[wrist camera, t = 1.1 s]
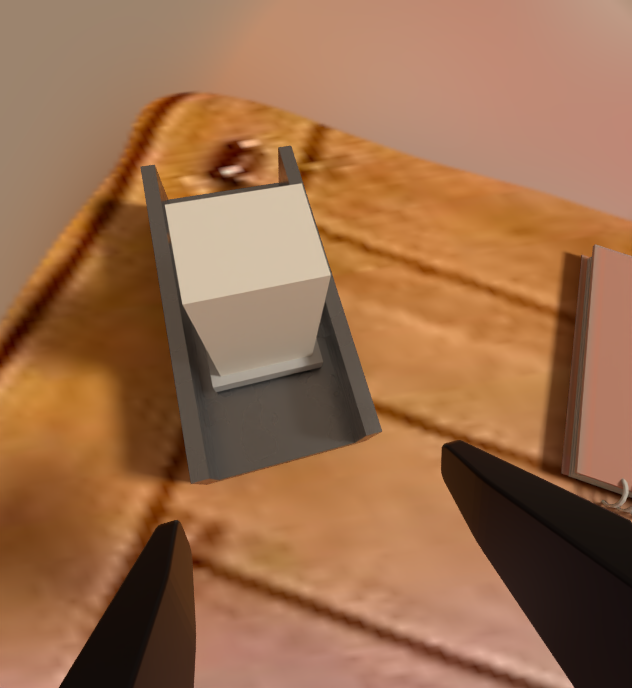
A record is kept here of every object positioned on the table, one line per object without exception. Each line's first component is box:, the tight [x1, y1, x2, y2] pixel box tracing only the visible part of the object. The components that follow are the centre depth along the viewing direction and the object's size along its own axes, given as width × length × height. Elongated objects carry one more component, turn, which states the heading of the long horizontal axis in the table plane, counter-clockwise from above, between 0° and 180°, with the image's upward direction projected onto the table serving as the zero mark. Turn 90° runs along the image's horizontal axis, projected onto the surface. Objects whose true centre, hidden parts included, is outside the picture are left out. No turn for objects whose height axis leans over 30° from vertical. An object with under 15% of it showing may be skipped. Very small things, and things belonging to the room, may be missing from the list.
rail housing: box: [141, 146, 382, 485], centre depth 23 cm, size 18×9×4 cm, turn 15°
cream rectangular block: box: [165, 183, 331, 392], centre depth 18 cm, size 5×6×10 cm
